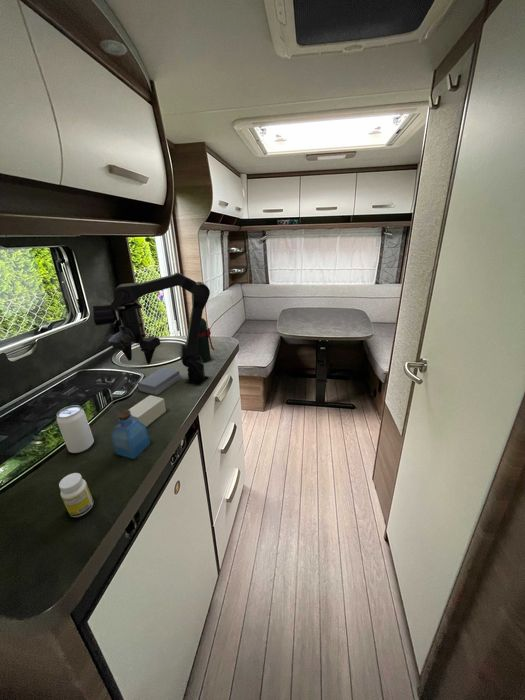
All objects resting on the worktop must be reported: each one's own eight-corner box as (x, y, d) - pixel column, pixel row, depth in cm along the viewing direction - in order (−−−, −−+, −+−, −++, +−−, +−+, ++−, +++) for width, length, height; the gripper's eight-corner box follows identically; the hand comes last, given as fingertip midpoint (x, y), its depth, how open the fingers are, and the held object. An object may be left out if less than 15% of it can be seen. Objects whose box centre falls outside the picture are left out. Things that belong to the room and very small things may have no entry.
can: (82, 455, 76) (69, 419, 71) (62, 452, 77) (48, 417, 73) (99, 439, 82) (88, 405, 77) (80, 436, 83) (68, 403, 78)
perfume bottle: (150, 443, 80) (141, 408, 75) (134, 459, 74) (124, 422, 70) (132, 439, 82) (123, 404, 77) (116, 454, 76) (105, 418, 71)
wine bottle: (213, 363, 128) (206, 298, 116) (191, 362, 128) (182, 298, 117) (217, 356, 135) (211, 294, 123) (197, 355, 136) (188, 294, 124)
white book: (151, 399, 95) (150, 394, 94) (164, 403, 93) (163, 398, 92) (124, 418, 86) (123, 413, 85) (139, 422, 84) (137, 417, 83)
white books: (152, 407, 96) (151, 399, 95) (166, 411, 94) (164, 403, 93) (126, 426, 87) (124, 418, 86) (141, 430, 85) (139, 423, 84)
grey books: (164, 374, 119) (163, 366, 117) (181, 378, 115) (180, 370, 114) (138, 390, 107) (137, 382, 106) (156, 395, 104) (154, 386, 102)
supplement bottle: (76, 499, 63) (65, 471, 60) (97, 497, 64) (87, 470, 60) (64, 519, 59) (51, 490, 56) (87, 517, 59) (75, 488, 56)
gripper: (90, 326, 93) (102, 367, 99) (132, 331, 86) (142, 376, 92) (118, 317, 102) (127, 355, 109) (157, 321, 96) (165, 362, 102)
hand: (139, 362), depth 103 cm, fingers open, 9 cm apart
